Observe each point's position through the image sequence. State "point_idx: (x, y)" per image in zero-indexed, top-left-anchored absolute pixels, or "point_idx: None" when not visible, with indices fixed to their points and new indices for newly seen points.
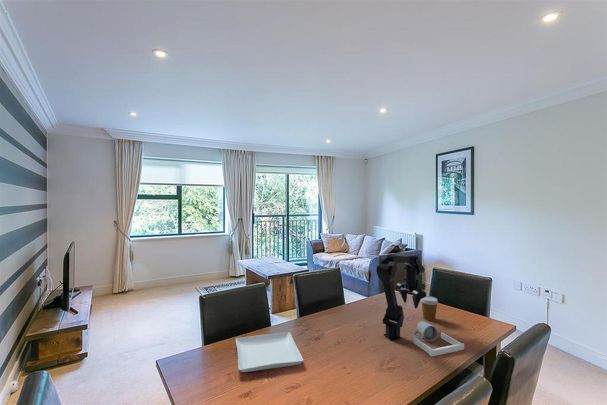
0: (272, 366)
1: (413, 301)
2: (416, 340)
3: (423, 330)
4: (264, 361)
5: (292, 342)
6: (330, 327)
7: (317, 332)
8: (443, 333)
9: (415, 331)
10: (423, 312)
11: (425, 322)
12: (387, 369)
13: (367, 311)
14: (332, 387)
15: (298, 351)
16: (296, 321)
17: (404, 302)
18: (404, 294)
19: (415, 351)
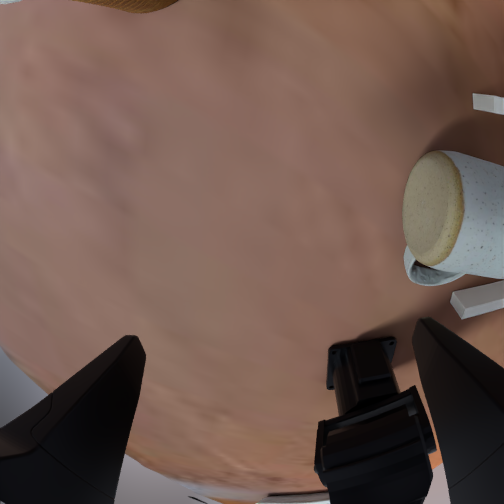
0: None
1: (449, 456)
2: (477, 313)
3: (497, 278)
4: (329, 502)
5: (301, 501)
6: (214, 460)
7: (242, 476)
8: (502, 103)
9: (412, 263)
10: (122, 3)
11: (492, 238)
12: None
13: (47, 332)
14: (437, 458)
15: None
16: (173, 478)
17: (143, 357)
18: (88, 463)
19: (485, 323)
